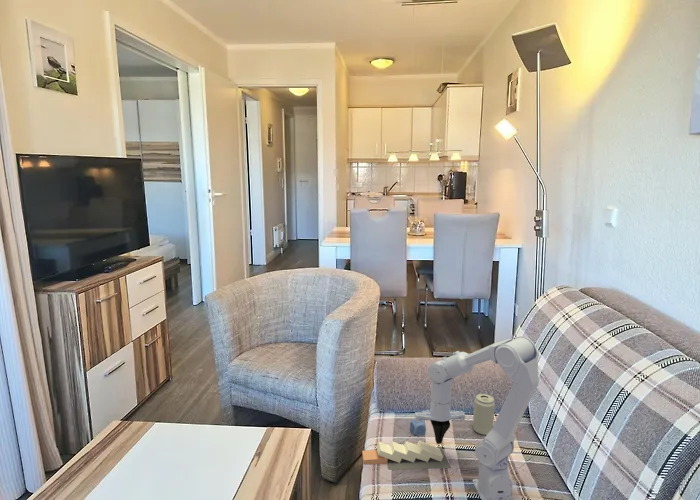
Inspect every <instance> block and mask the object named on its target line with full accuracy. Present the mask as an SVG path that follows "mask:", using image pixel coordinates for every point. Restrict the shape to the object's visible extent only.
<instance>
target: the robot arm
mask: <svg viewBox="0 0 700 500" xmlns="http://www.w3.org/2000/svg"><path fill="white" fill-rule="evenodd" d="M452 354H453V355H450V356H448V357H447V356H443V357H441V359H440V360H438V361H436V362H432V363H431V364H430V365H429V366H428V371H427V373H428V376H429V378H430V380H431V387H430V389H431V390H430V406H429V407H430V409H427V410H421V411H415V412H414V419H415V420H416V422H419V421H420V420H423V421H430V423H431V426H432V428H433V433H434V440H435V442H436V444H438V445H442V443H443V440H444V437H445V435H446V433H447V431H448V430H449V429H450V427H451V422H450V421H452V420H453V421H455V420H460V421H462V422H463V421H465V418H466V414H465V413H464V411H463V410H454V409H453V410H452V409H451V404H452V403H451V401H452V400H451V399H452V398H451V397H452V384H453V381H454V378H457V377H460V376H463V375H465V374H467V373H470V372H472V371H473V369H474V366H476V365H478V364H482V363H485V362H488V361H492V363H493V364H494V365H497V364H498V365H499V367H501V370H503V372H504V373H505V374H506V376H508V378H509V379H510V381H512V382H513V383H512V385H511V387H510V390H509V392H508V393H507V396H506V398H505V400H504V401H503V402H504V403H503V404H502V406H501V408H500V411H499V413H498V415H497V416H496V420H495V421H494V422H493V428H492V429H491V431H490V432H489V433H488V434H487V435H485V436H484V437H483V440H482V441H481V442H480V443H477V445H476V446H475V448H474V449H475V450H474V451H475V452H474V453H475V456H476V458H477V460H478V462H479V465H478V479H477V478H475V479H474V478H473V479H472V483H473V485H474V488H475V489H476V491H477V493H478V495H479V498H480V499H481V500H513V498H512V491H513V481H512V479H511V477H510V475H509V470H508V469H509V458H510V457H509V456H510V455H511V454H512V453H513V452H514V449H515V439H516V436H515V433H516V431H517V428H518V426H519V425H520V422H521V420H522V419H523V416H524V414H525V412H526V410H527V408H528V406H529V404H530V402H531V400H532V398H533V396H534V394H535V392H536V390H537V388H538V386H539V383H540V380H539V379H540V378H539V368H538V367H539V366H538V360H539V357H540V353H539V351H538V348H537V346H536V345H535V343H534V342H533V340H532V339H530V338H529V337H527V336H523V335H522V336H521V335H520V336H516V338H514V339H513V338H508V339H505V340H501V341H498V342H494V343H492V344H490V345H488V346H485V347H483V348H480V349H478V350H476V351H473V352H472V353H467V352H465V351H460V350H457V351H454V352H453V353H452Z"/></svg>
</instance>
